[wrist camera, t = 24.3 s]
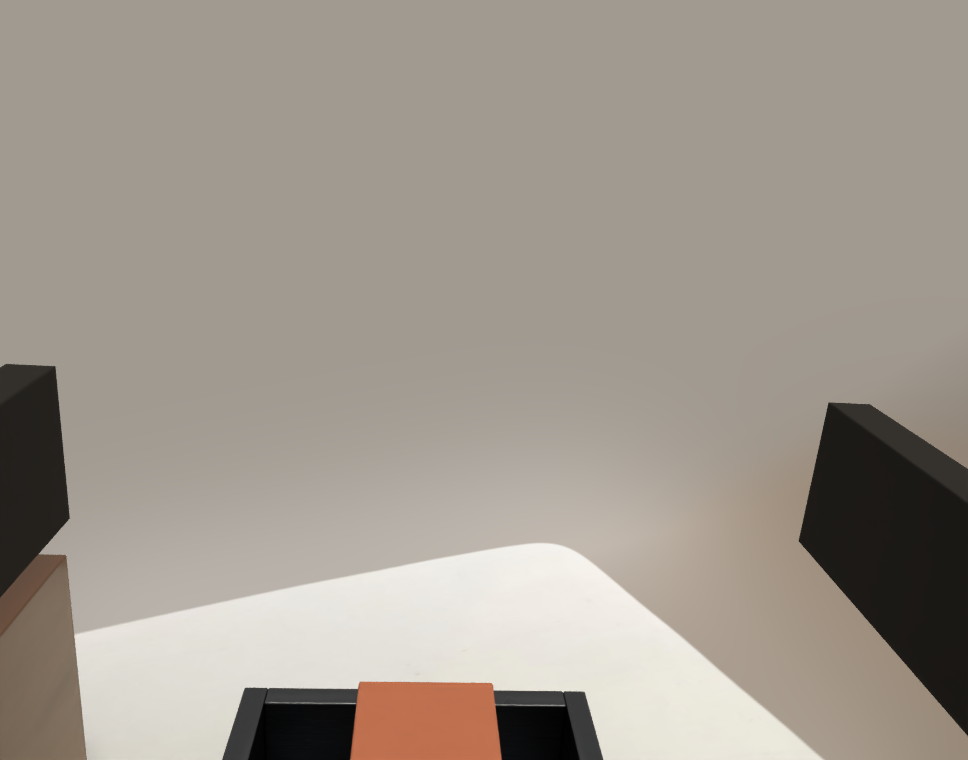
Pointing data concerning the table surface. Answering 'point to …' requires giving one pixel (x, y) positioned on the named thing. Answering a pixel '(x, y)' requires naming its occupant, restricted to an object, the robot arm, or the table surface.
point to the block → (425, 722)
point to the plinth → (39, 667)
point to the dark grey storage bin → (331, 714)
